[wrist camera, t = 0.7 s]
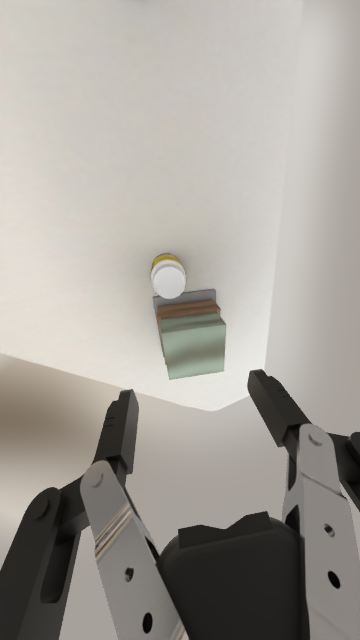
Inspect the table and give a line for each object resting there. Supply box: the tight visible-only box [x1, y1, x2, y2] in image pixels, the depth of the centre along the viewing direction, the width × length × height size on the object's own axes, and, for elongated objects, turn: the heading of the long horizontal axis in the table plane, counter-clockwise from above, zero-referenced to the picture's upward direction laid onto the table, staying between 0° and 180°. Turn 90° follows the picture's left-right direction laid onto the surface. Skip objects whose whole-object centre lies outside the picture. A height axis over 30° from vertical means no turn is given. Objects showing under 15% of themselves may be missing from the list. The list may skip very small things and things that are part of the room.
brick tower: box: [157, 299, 226, 380], centre depth 28 cm, size 10×10×8 cm
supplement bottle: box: [151, 254, 186, 299], centre depth 24 cm, size 5×5×8 cm
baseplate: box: [153, 289, 216, 356], centre depth 32 cm, size 13×11×1 cm
